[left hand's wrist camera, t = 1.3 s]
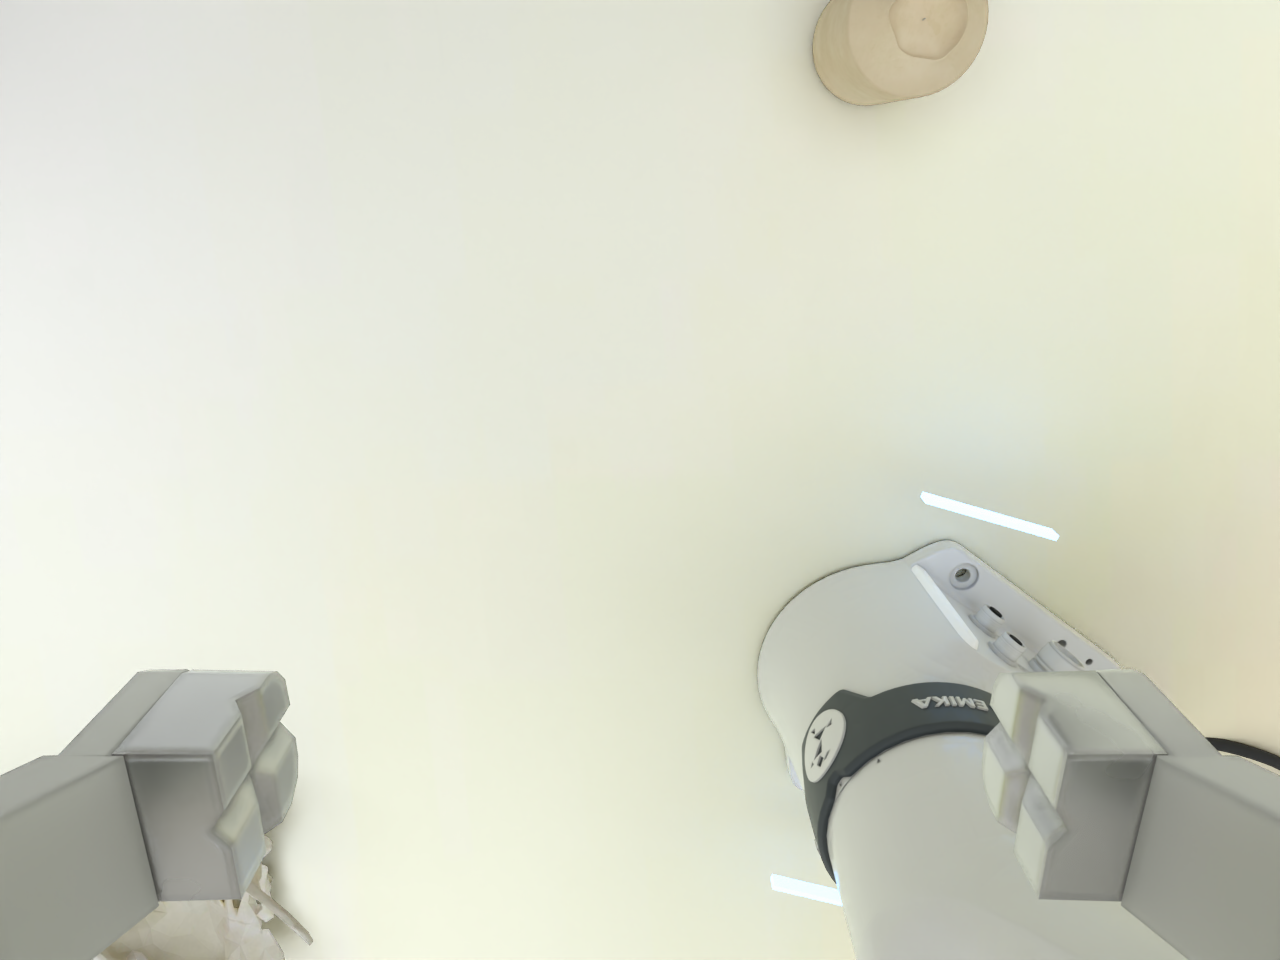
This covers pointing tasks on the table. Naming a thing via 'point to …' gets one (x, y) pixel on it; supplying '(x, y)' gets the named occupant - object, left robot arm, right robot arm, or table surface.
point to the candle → (896, 47)
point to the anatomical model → (209, 928)
